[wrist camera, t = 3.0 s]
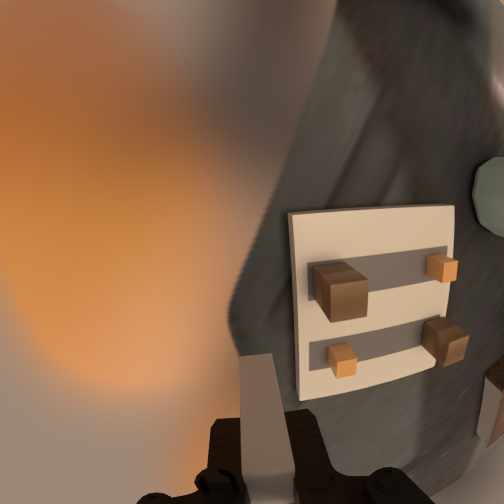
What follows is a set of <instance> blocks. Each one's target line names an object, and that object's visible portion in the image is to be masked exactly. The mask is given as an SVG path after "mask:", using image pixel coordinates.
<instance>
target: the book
mask: <svg viewBox="0 0 504 504" xmlns="http://www.w3.org/2000/svg"><path fill="white" fill-rule="evenodd" d="M484 376H485V384H484V392H483V399H482V405H481V411H480V416H479V421H478V426H477V430H476V433H477V434H478V435H479V436H480V437H481V439H482V440H483V441H484V442H485V444H486V445H487V448H488V447H489V446H490V445H491V444H492V443H493V442H495V441H496V440H497V439H498V438H499V437H500V436H501V435H502V434H503V433H504V355H503V356H502V357H501V358H500V359H499V360H498V361H497V362H496V363H494V364H493V365H492V366H491V367H490V368H489V369H488V370H487V371H486V372H485V374H484Z"/></svg>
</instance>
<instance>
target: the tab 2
mask: <svg viewBox="0 0 504 504" xmlns="http://www.w3.org/2000/svg"><path fill="white" fill-rule="evenodd" d="M468 339H469V334H467V333H466V332H465V331H463V330H462V329H461V328H459V327H458V326H456V325H455V324H454V323H452V322H451V321H449V320H448V319H447V318H445V317H441V318H437V319H434V320H430V321H427V322H425V324H424V330H423V336H422V341H421V346H422V347H423V348H424V349H425V350H427V351H428V352H429V353H430V354H431V355H432V356H433V357H434V358H435V359H436V360H437V361H438V362H439V363H440V364H441V365H442V366H443V367H445V366H447V365H450V364H452V363H455V362H457V361H459V360H462V359H463V357H464V354H465V350H466V347H467V343H468Z"/></svg>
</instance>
